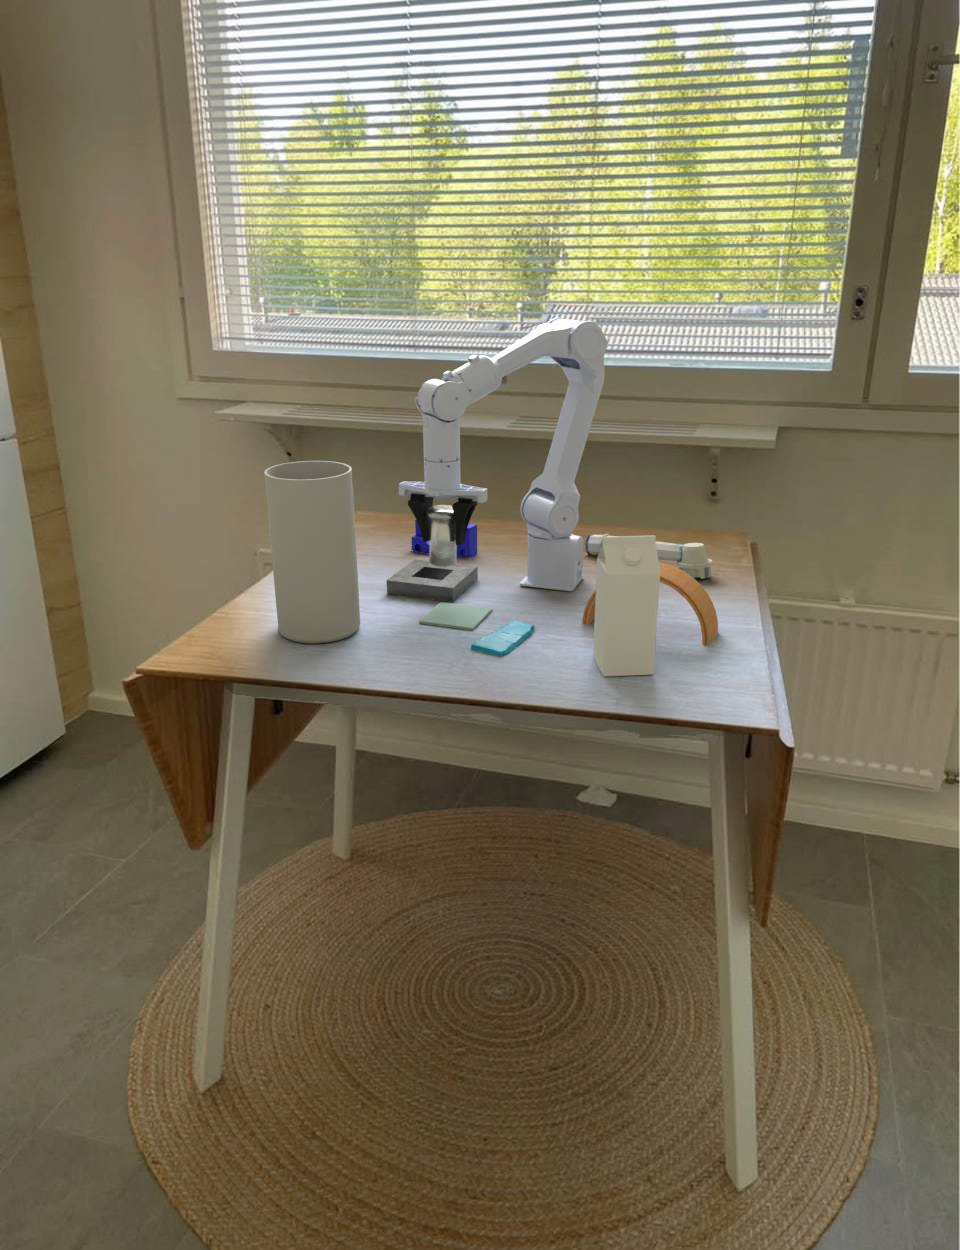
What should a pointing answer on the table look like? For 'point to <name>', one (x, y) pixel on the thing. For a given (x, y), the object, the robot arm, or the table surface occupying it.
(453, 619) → the mat
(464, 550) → the blue bearing cradle
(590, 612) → the arch
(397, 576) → the socket block
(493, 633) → the sponge
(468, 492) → the robot arm
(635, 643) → the milk carton
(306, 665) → the table surface
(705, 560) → the angle grinder
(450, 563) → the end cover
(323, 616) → the cylinder vase
